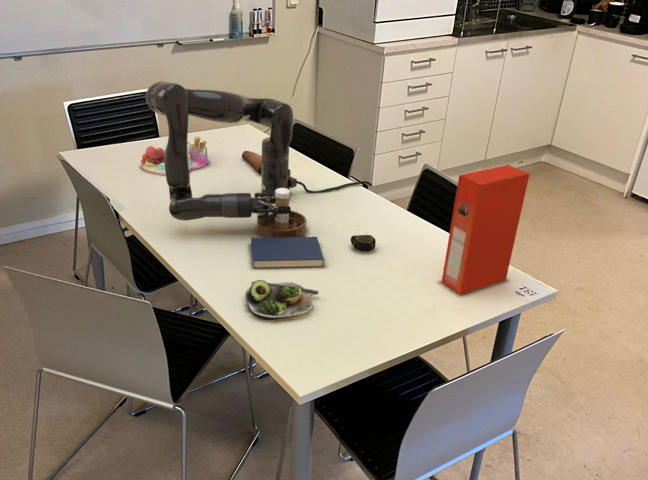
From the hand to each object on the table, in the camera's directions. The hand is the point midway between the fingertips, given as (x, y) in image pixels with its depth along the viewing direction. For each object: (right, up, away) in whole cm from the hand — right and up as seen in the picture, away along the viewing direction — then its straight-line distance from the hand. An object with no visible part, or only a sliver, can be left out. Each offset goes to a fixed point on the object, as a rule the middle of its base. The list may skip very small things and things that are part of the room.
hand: (289, 204), depth 206 cm
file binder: (+52, -24, -17) cm, 60 cm away
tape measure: (+22, -14, -3) cm, 26 cm away
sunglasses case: (-13, +22, +52) cm, 57 cm away
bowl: (-3, -8, +5) cm, 9 cm away
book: (-1, -16, -9) cm, 19 cm away
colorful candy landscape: (-45, +23, +50) cm, 71 cm away
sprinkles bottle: (-3, -7, +4) cm, 9 cm away
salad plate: (-3, -31, -32) cm, 44 cm away
